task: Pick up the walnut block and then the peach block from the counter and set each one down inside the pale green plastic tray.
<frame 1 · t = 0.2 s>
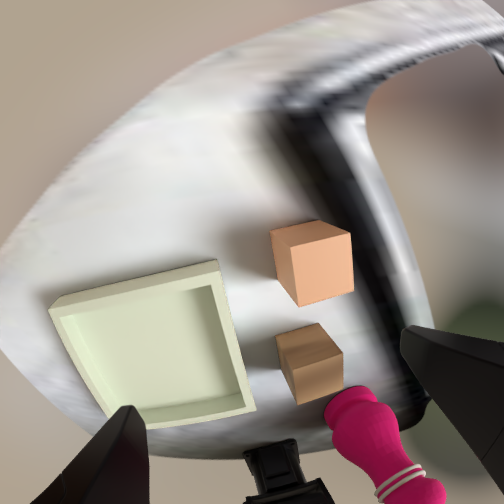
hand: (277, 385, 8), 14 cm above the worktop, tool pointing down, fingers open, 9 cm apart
peach block: (298, 250, 22), on the worktop
tray: (158, 352, 22), on the worktop
walnut block: (299, 347, 25), on the worktop
pepper mill: (347, 404, 29), on the worktop
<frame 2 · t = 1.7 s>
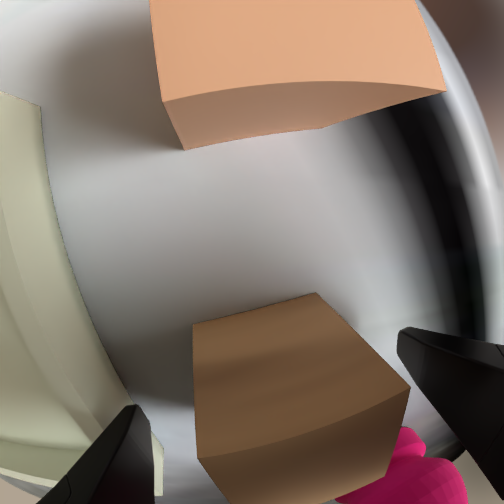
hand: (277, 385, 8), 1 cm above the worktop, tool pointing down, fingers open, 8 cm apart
peach block: (242, 72, 7), on the worktop
walnut block: (266, 358, 9), on the worktop
pepper mill: (370, 457, 13), on the worktop
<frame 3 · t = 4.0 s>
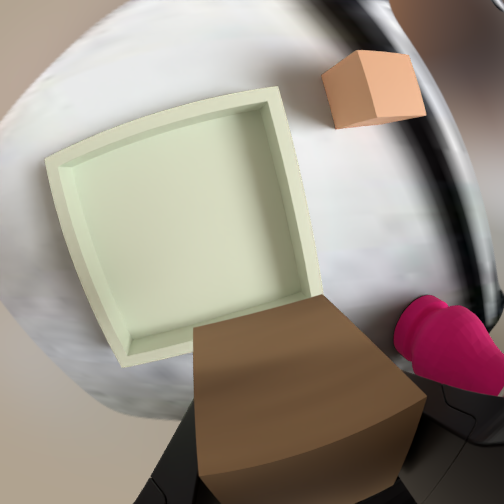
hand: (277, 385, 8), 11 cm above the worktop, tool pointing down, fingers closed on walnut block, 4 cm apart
peach block: (352, 100, 17), on the worktop
tray: (187, 229, 17), on the worktop
walnut block: (270, 363, 9), point 10 cm above the worktop, touching gripper
pepper mill: (416, 324, 23), on the worktop
when the fingers open (3 cm above the worktop, at t = 5.7 s): walnut block drops 2 cm, resting on tray.
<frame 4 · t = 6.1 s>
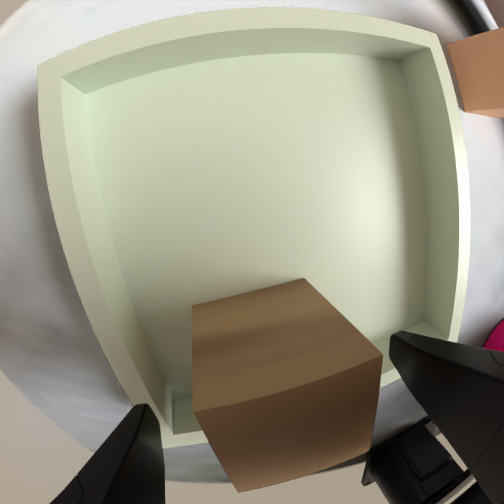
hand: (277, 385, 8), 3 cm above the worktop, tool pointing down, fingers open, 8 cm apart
peach block: (474, 82, 10), on the worktop
tray: (290, 222, 10), on the worktop
walnut block: (259, 339, 10), point 1 cm above the worktop, touching tray
pepper mill: (492, 348, 16), on the worktop
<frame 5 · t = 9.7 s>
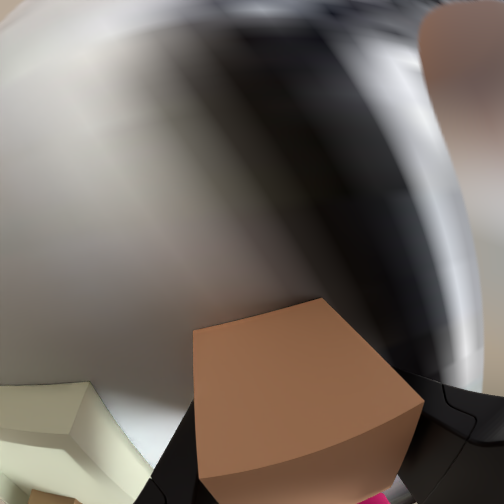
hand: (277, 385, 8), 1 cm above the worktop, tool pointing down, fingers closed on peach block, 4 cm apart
peach block: (269, 366, 9), on the worktop, touching gripper
tray: (57, 474, 9), on the worktop
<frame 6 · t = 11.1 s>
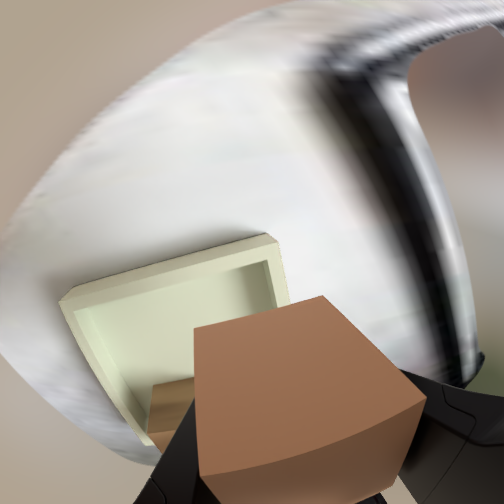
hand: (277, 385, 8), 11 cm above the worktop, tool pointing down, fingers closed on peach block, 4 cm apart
peach block: (270, 364, 9), point 10 cm above the worktop, touching gripper
tray: (194, 350, 19), on the worktop
walnut block: (186, 398, 20), point 1 cm above the worktop, touching tray
when the fingers open (3 cm above the worktop, at t = 12.8 s): peach block moves 1 cm and tips over, resting on tray.
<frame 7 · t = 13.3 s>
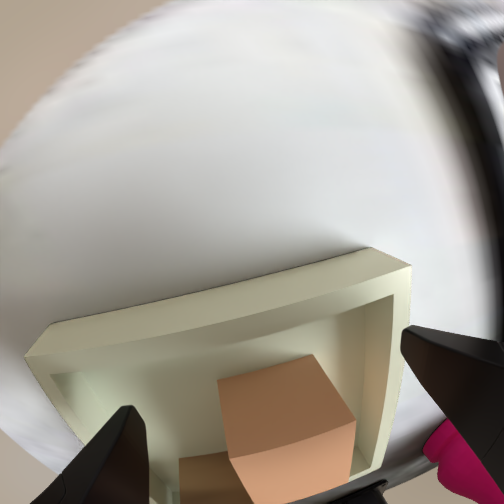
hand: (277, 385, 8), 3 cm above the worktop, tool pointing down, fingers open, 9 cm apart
peach block: (278, 400, 9), point 3 cm above the worktop, tilted 90°, touching tray
tray: (243, 415, 12), on the worktop
walnut block: (225, 469, 12), point 1 cm above the worktop, touching tray
pepper mill: (446, 429, 18), on the worktop
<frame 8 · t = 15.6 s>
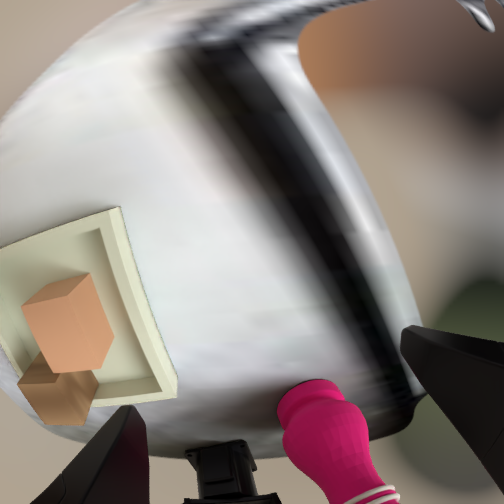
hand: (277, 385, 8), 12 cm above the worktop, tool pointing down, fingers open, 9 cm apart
peach block: (55, 289, 15), point 3 cm above the worktop, tilted 90°, touching tray
tray: (70, 318, 18), on the worktop
walnut block: (69, 366, 18), point 1 cm above the worktop, touching tray
pepper mill: (307, 401, 24), on the worktop
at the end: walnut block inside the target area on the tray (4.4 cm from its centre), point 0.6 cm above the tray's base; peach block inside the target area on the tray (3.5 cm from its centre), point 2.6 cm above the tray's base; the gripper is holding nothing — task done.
